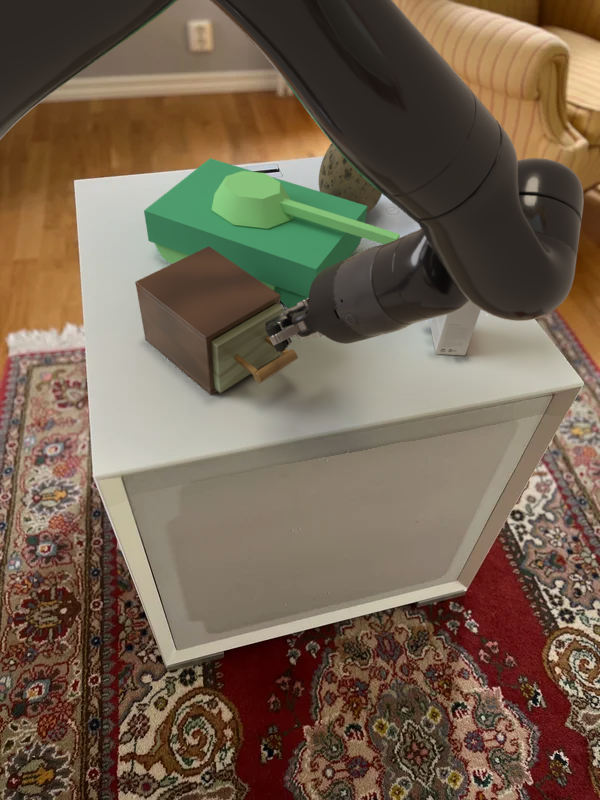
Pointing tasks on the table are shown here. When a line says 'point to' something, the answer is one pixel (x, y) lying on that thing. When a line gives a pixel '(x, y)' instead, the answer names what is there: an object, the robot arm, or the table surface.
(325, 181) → the decorative egg
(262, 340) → the drawer
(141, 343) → the table surface
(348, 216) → the toy tank
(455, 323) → the cosmetic box
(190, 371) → the cabinet
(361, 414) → the table surface
